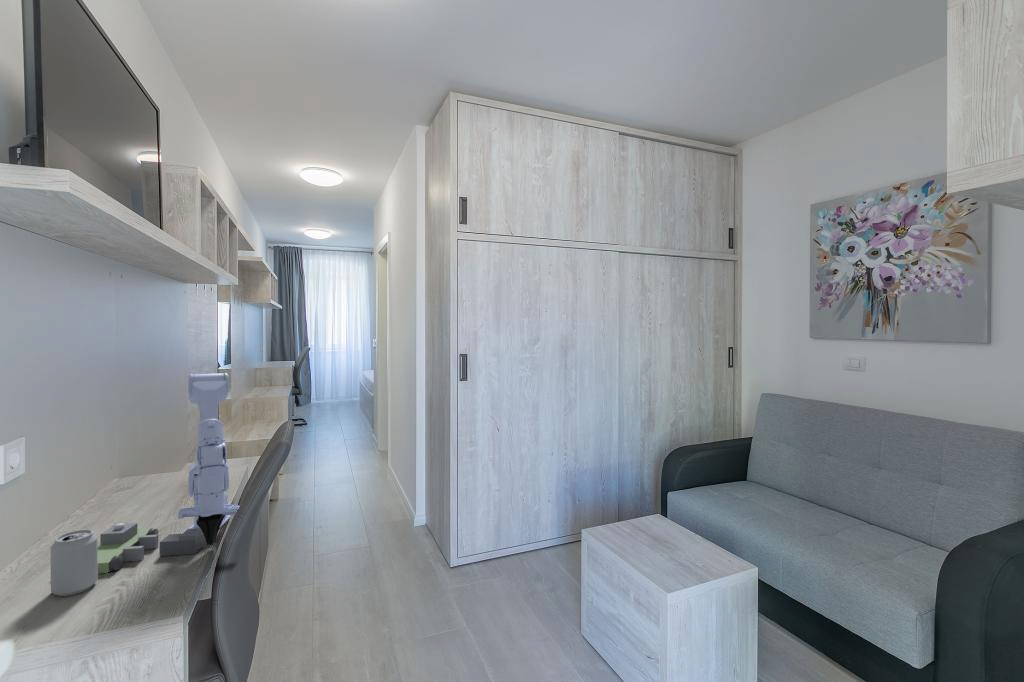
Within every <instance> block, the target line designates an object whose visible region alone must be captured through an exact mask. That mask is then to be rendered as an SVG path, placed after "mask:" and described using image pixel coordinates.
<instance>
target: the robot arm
mask: <svg viewBox="0 0 1024 682" xmlns="http://www.w3.org/2000/svg"><path fill="white" fill-rule="evenodd" d="M229 376H230V375H229V374H228V373H227V372H224V373H223V372H222V373H221V372H220V373H218V372H217V373H195V374H194V373H190V374H189V375H188V377H187V379H188V380H187V381H188V383H187V384H188V387H187V388H188V390H187V391H188V392H187V393H188V400H189V403H190V404H193V405H194V404H195V405H196V406H197V408H198V410H199V423H198V425H197V448H196V452H195V457H196V459H195V464H194V465H193V466H191V467H190V468H189V471H188V480H187V481H188V482H187V483H188V485H187V486H188V492H187V493H188V496H189V497H193V506H191V507H183V508H180V509H179V510H178V515H177V519H184V518H193V524H192V525H191V526H189V528H188V529H197V528H200V529H201V530H202V532H203V538H204V539H205V543H206V546H211V545H212V546H213V545H214V544H215V543H216V542H217V538H218V533H219V530H220V528H222V527H223V525H224V524H225V523H227V521H229V520H230V518H231V517H232V515H233V516H234V515H236V512H237V510H238V509H239V507H240V506H239V505H240V504H239V505H238V504H229V503H228V501H229V500H228V495H227V491H228V490H229V489H230V471H229V465H228V464H227V461H228V460H227V459H228V458H227V456H228V455H227V453H228V451H227V449H228V448H227V445H226V440H225V439H224V423H223V422H222V421H221V420H220V419H218V416H219V414H218V413H219V405H220V404H221V403H222V402H226V401H227V398H228V395H229V391H230V377H229Z"/></svg>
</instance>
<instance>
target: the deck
mask: <svg viewBox="0 0 1024 682" xmlns="http://www.w3.org/2000/svg"><path fill="white" fill-rule="evenodd" d="M99 540H100V541H98V573H105V574H109V573H108V572H110V571H111V572H114V570H115V571H119V569H120V568H121V569H122V567H123V565H124V563H126V562H125V561H132V562H140V561H139V560H142V559H143V560H144V559H145V550H156V549H157V548H159V530H158V528H150V529H144V530H143V529H141V530H138V522H133V523H124V522H122V523H121V522H120V523H116V524H114V525H112V526H111V527H109V528H108V529H106V530H104V531H103V532H102V533H100V535H99ZM153 548H154V549H153ZM155 548H156V549H155ZM143 560H142V561H143ZM121 569H120V570H121ZM111 572H110V573H111Z"/></svg>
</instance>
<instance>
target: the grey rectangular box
mask: <svg viewBox="0 0 1024 682" xmlns="http://www.w3.org/2000/svg"><path fill="white" fill-rule="evenodd" d="M202 546H203V547H204V534H203V532H202V530H201V529H200V528H197V529H189V528H187V529H186V530H185V531H184V532H182V533H171V534H167V536H165V537H164V538H163V539H162V540H160V541H159V557H169V556H170V557H171V556H182V555H183V556H184V555H185V554H186V555H196V554H197V553H198V552H199V551H198V550H199V549H200V548H201V547H202ZM203 547H202V548H203ZM202 548H201V549H202ZM201 549H200V550H201ZM196 552H197V553H196Z"/></svg>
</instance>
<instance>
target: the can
mask: <svg viewBox="0 0 1024 682" xmlns="http://www.w3.org/2000/svg"><path fill="white" fill-rule="evenodd" d="M98 542H99V541H98V536H97V535H95V534H94V530H93V529H88V528H87V529H86V528H83V529H77V530H72V531H67V532H65V533H63V534H60V535H58V536H57V537H55V538H54V543H52V545H51V546H50V549H49V550H50V593H51V594H53V595H56V596H57V597H69V595H70V596H75V595H77V593H78V594H80V593H83V592H86V591H87V590H89V589H90V588H92V586H93V585H94V584H95V583H97V581H98V580H99V574H98Z"/></svg>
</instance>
